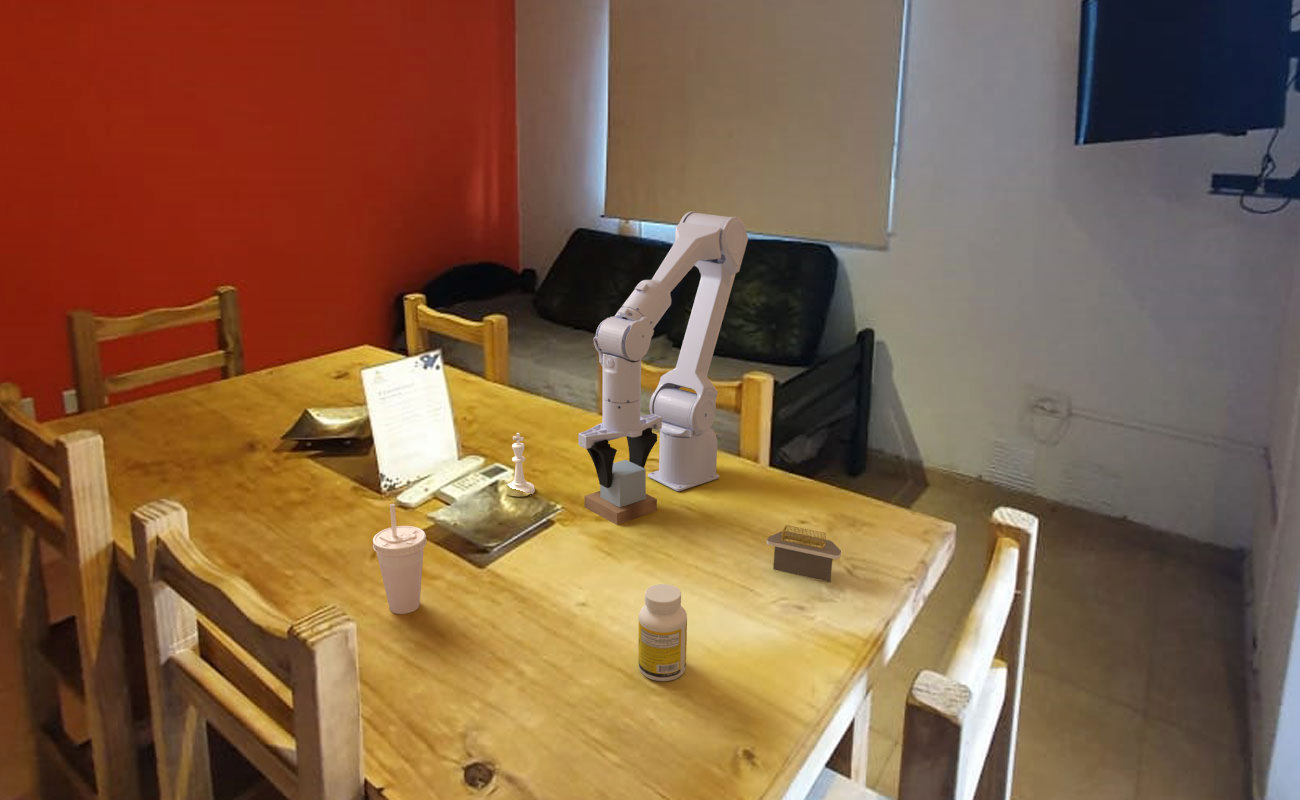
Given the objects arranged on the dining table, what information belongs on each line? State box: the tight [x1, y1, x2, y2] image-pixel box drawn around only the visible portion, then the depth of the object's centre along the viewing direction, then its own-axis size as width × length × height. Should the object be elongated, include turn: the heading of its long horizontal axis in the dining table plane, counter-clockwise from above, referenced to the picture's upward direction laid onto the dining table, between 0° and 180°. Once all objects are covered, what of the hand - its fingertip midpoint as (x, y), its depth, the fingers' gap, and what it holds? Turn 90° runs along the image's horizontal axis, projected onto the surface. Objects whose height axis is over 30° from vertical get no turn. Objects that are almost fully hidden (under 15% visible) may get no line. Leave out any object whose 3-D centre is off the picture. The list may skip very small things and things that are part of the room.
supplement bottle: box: [638, 583, 688, 682], centre depth 105 cm, size 5×5×10 cm
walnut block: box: [583, 490, 658, 526], centre depth 145 cm, size 8×8×2 cm
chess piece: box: [506, 432, 536, 495], centre depth 149 cm, size 5×5×10 cm
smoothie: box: [372, 503, 428, 615], centre depth 115 cm, size 6×6×14 cm
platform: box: [766, 524, 842, 583], centre depth 127 cm, size 12×18×7 cm, turn 66°
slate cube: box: [599, 459, 647, 507], centre depth 144 cm, size 5×5×5 cm
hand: (620, 480), depth 144 cm, fingers open, 5 cm apart
